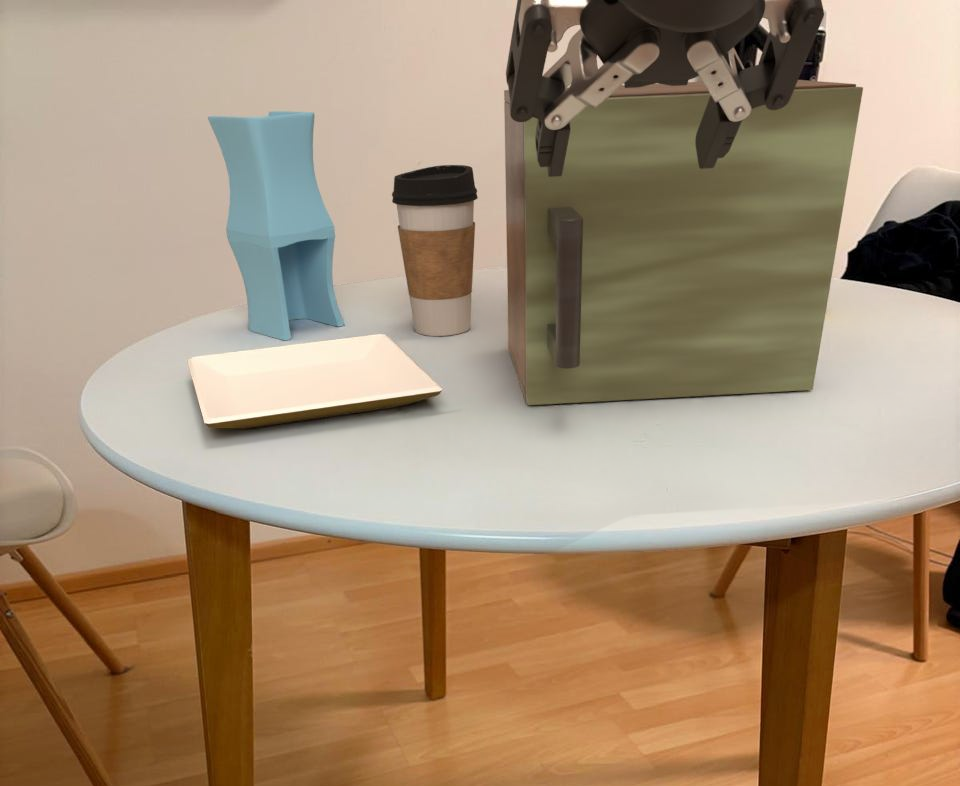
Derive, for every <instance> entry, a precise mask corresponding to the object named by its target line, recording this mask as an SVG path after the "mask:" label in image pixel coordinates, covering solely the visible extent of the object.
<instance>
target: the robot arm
mask: <svg viewBox="0 0 960 786" xmlns="http://www.w3.org/2000/svg"><path fill="white" fill-rule="evenodd" d="M824 16H825V10H824V6H823V1H822V0H517V2H516V8H515V13H514V20H513V26H512V31H511V39H510V45H509V50H508V57H507V62H506V69H505V79H506V84H507V87H508V88H507V90H509V97H510V114H511V118H512V119H513V120H514V121H516V122H526V121H528V120H530V119H531V118H532V117H534V118H537V119H538V120H537V127H536V135H535V143H536V151H537V159H538V163H539V165H540V167H547V170H548V176H549V177H556V176H562V172H563V167H564V162H565V156H566V151H567V146H568V140H569V135H570V130H571V129H570V121H571V120H572V119H573V118H574V117H576V116H577V115H578V114H579V113H580V112H581V111H582V110H583V109H585V108H586V107H587V106H590V107H592V108H596V107H598V106H599V105H600V104H601V103H602V102H603V101H604V100H606V99H607V98H608V97H609V96H610V95H611V94H612V93H613V92H615V91H616V90H617V89H618V88H619V87H620V86H621V85H624V86H625V88H635V87H643V86H647V85H651V84H664V85H670V86H681V85H687V83H688V82H689V80H693V79H695V78H697V77H700V80H701V82H703V83H704V84H705V86H706V88H707V89H708V91H709V93H710V94H711V95H710V98H709V101H708V104H707V106H706V109H705V112H704V114H703V117H702V120H701V123H700V125H699V128H698V131H697V134H696V139H695V145H696V152H697V158H698V164H699V168H700V169H708V168H714V166H715V164H716V161H717V159H718V158H723V157H724V156H725V155H726V154H727V153H728V152H729V150H730V148H731V146H732V143H733V141H734V139H735V136H736V134H737V132H738V129H739V127H740V125H741V122H742V120H743V119H745V118H746V117H748V116H749V114H750V113H751V110H752V109H754V108H756V107H759V106H762V105H766V107H767V108H768V109H769V110H778V109H781V108H783V107H784V106H786V105H787V104H788V102H789V101H790V99H791V96H792V94H793V91H794V89H795V86H796V84H797V81H798V80H800V76H801V74H802V72H803V69H804V66H805V64H806V62H807V59H808V56H809V54H810V53H811V52H810V51H811V49H812V47H813V44H814V42H815V39H816V38H817V37H816V36H817V34H818V31H819V29H820V27H821V25H822V22H823V19H824ZM762 19H766V20H767V23H768V24H767V25H768V28H769V29H768V30H769V32H768V35H767V37H766V41H765V43H764V47H763V49H762V51H761V55H760V58H759V60H758V64H755V65H753V66H749V67H746V68H745V66H744V65H743V63H742V60H741V59H740V57H739V55H738V53H737V51H736V49H735V47H736V46H737V45H738V44H739V43H740V42H741V41H743V40H744V39H745V38H746V37H747V36H749V35H750V34H751V33H752V32H753V31H755V30H756V28H757V27H759V25H760V23H761V21H762ZM574 26H580V28H579V29H578V30H577V31H576V32H575V33H574V34H573V35H572V37H571V38H570V39H569V42H568V43H567V48H566V51H565V53H564V54H563V55H561V57H560V58H559V59H558V60H556V62H555V63H554V64H553V65H551V67H550V68H549V69H547V71H545V72H544V69H545V65H546V60H547V56H548V53H555V52H556V51H557V50H558V47H559V46H558V44H559V43H560V42H561V40H562V39H563V37H564V34H565V33H566V31H568V30H569V29H570V28H572V27H574ZM598 58H599V60H600V61H601V63H602V65H601V66H600V67H599V66H598ZM598 67H599V68H598ZM568 87H569V88H568ZM566 88H568V89H567V90H565V89H566Z"/></svg>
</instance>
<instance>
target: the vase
mask: <svg viewBox="0 0 960 786" xmlns="http://www.w3.org/2000/svg"><path fill="white" fill-rule="evenodd" d="M207 120H208V122H209V125H210V127H211V129H212V131H213V134H214V136H215V138H216V141H217V143H218V146H219V148H220V151H221V154H222V157H223V159H224V163H225V167H226V172H227V177H228V183H229V207H228V214H227V221H226V229H225V231H226V238H227V241H228V244H229V246H230V248H231V251H232V253H233V256H234V258H235V260H236V262H237V263H236V264H237V265H238V268H239V272H240V274H241V277H242V281H243V285H244V289H245V295H246V303H247V312H248V313H247V315H248V318H247V319H248V320H247V327H248V328H247V329H248V330H249V331H250V332H254V333H257V334H259V335H264V336H267V337H271V338H274V339H277V340H281V341H284V342H285V341H289V340H292V337H291V329H290V321H294V320H310V321H314V322H319V323H322V324H326V325H329V326H334V327H338V328H340V327H343V326H346V324H345V321H344V318H343V316H342V313H341V310H340V307H339V304H338V300H337V297H336V292H335V287H334V278H333V277H334V276H333V261H334V251H335V250H334V249H335V241H336V231H335V225H334V222H333V220H332V218H331V216H330V214H329V212H328V209H327V208H326V205H325V203H324V201H323V198H322V194H321V191H320V189H319V186H318V182H317V181H318V180H317V177H316V173H315V172H316V171H315V164H314V127H315V112H314V111H289V110H288V111H287V110H284V111H283V110H273V111H268V115H266V116H265V115H263V116H221V115H219V116H218V115H211V116H207Z"/></svg>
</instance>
